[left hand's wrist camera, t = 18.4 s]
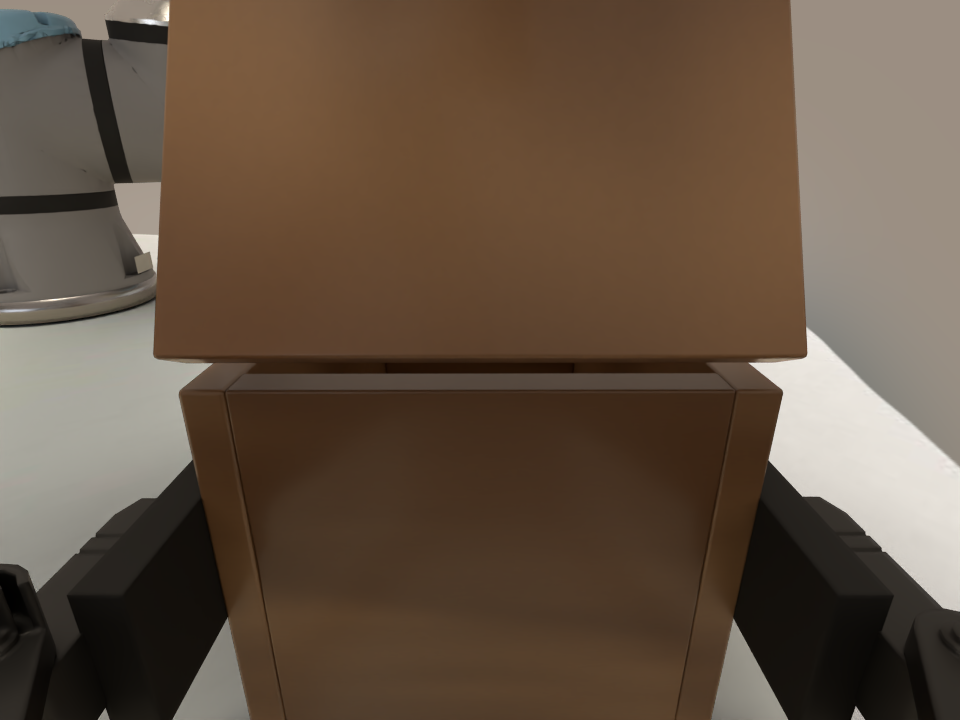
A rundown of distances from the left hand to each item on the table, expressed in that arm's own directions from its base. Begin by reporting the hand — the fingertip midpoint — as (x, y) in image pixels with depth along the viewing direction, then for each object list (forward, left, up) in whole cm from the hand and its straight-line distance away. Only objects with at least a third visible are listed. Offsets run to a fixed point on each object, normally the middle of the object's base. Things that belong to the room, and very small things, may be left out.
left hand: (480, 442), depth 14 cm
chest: (+3, +1, -6) cm, 7 cm away
